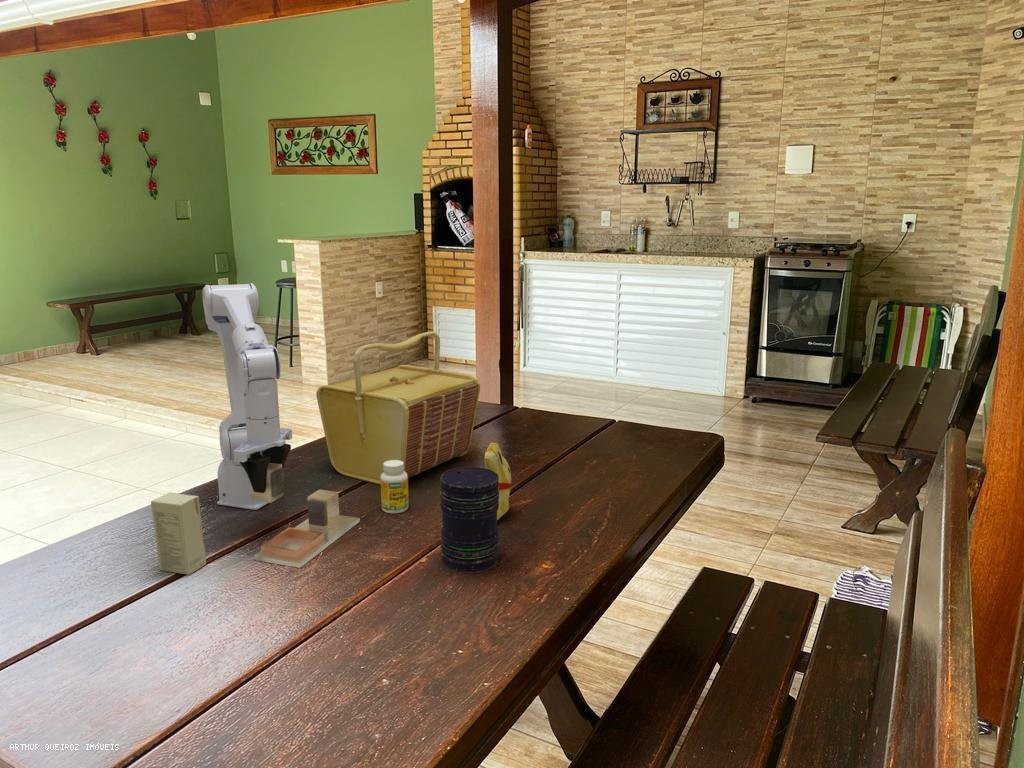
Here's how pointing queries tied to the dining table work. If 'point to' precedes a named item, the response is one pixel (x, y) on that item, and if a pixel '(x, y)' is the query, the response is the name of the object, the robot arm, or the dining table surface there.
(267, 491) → the block
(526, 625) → the dining table surface
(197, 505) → the skincare box
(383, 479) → the supplement bottle
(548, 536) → the dining table surface
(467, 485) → the storage jar
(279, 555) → the cream holder stand
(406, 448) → the picnic basket
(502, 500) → the chocolate bunny
